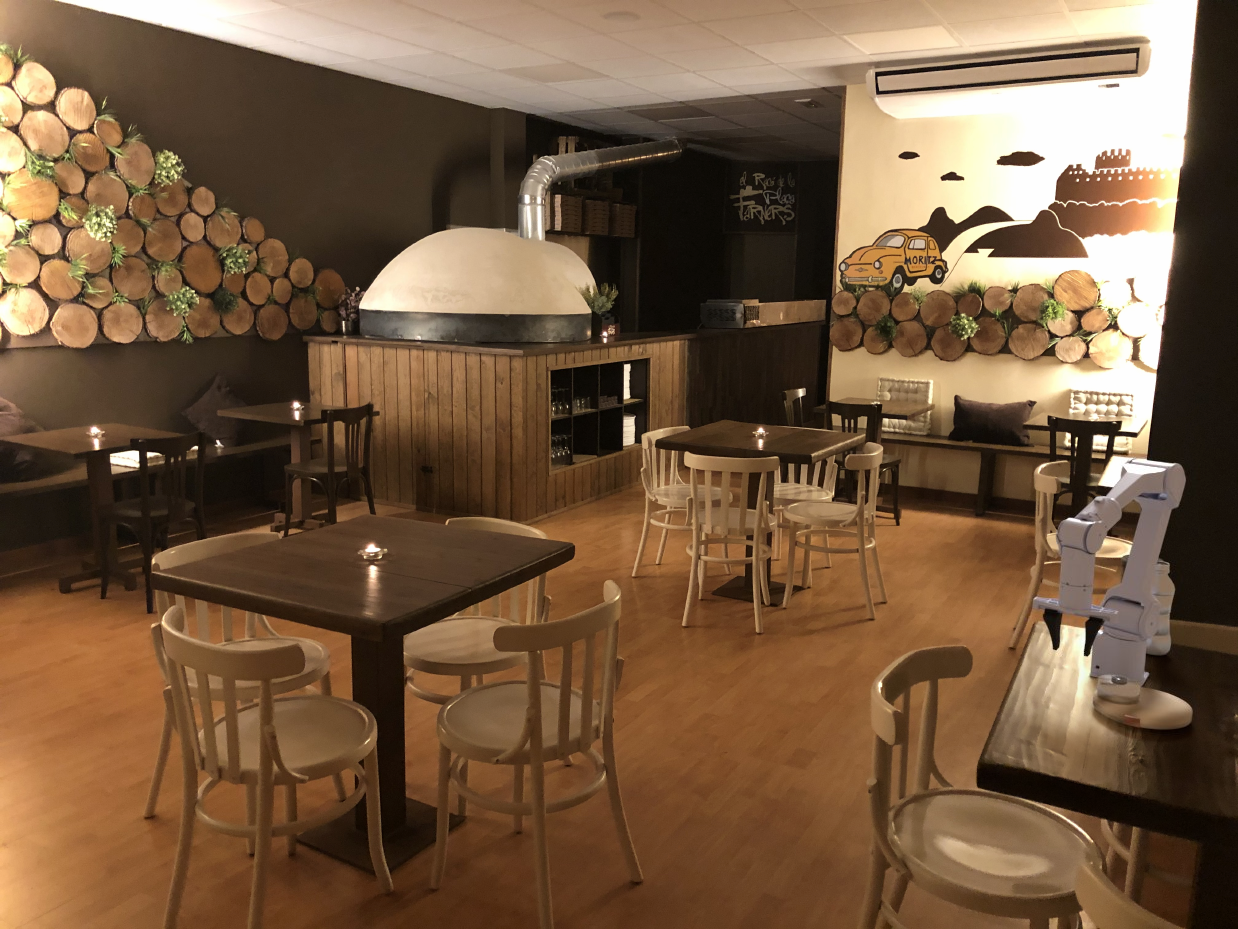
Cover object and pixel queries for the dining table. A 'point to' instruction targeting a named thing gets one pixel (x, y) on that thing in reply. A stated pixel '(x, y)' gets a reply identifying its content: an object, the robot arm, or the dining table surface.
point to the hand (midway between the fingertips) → (1071, 651)
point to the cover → (1118, 689)
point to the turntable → (1148, 710)
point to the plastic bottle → (1161, 609)
